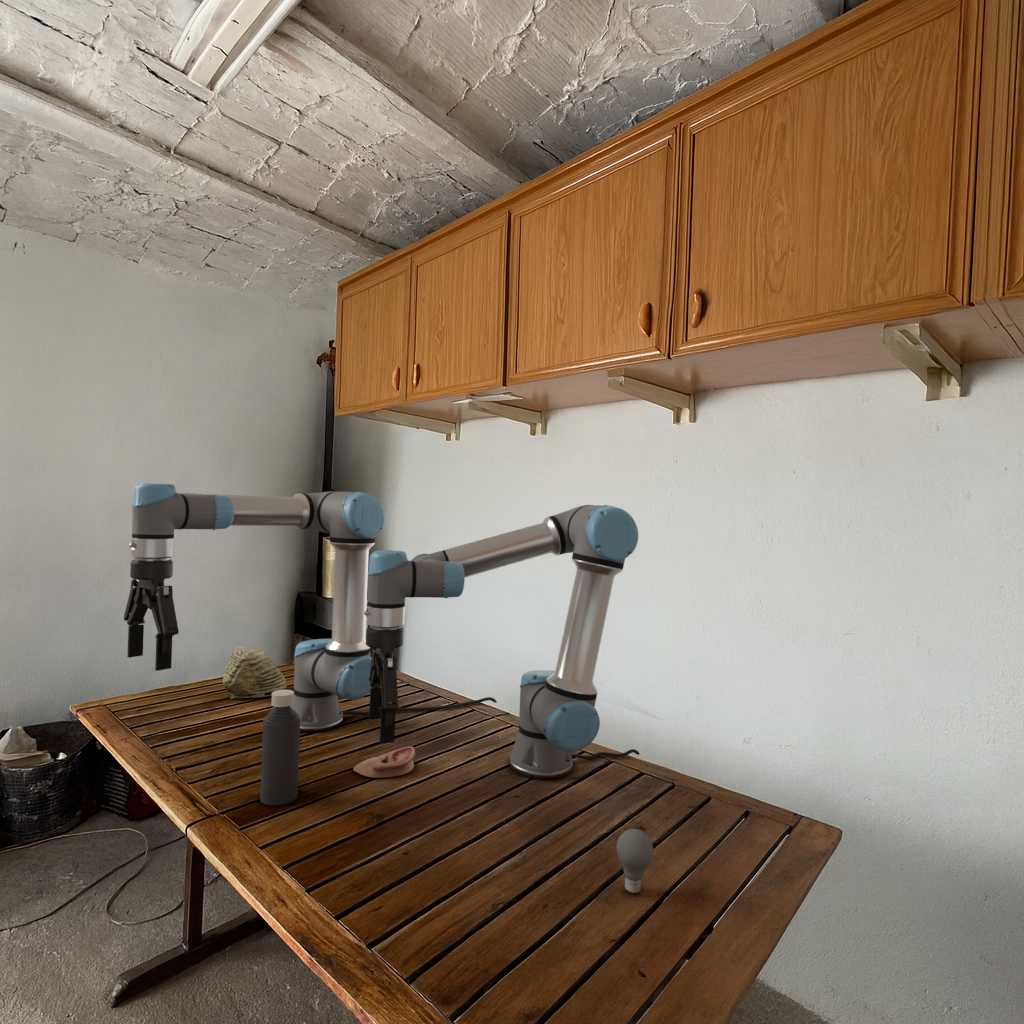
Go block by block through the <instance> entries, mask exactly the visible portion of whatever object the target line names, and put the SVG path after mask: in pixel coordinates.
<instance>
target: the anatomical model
mask: <svg viewBox="0 0 1024 1024" xmlns="http://www.w3.org/2000/svg"><path fill="white" fill-rule="evenodd" d="M415 755H416V749H415V747H413V746H406V747H405V746H404V747H401V748H398V749H394V750H391V751H389V752H386V753H383V754H381V755H378V756H375V757H370V758H367V759H364V760H363V761H361V762H359V763H358V764H356V765H355V766H354V767H353V768H352V770H353V771H354V772H356V773H357V774H359V775H361V776H364V777H368V778H371V779H379V778H380V779H382V778H391V777H399V776H403V775H405V774H408V773H410V772H411V771H413V770H414V766H415V763H414V761H413V760H414V758H415Z"/></svg>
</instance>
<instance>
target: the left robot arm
mask: <svg viewBox="0 0 1024 1024" xmlns="http://www.w3.org/2000/svg"><path fill="white" fill-rule="evenodd" d="M385 515H386V513H385V511H384V508H383V505H382V503H381V502H380V501H379V500H378V498H377V497H375V495H373V494H370V493H367V492H363V491H362V492H361V491H337V490H336V491H335V490H333V491H332V490H330V491H321V492H311V493H295V494H294V495H293V496H276V495H275V496H274V495H273V496H272V495H248V494H247V495H246V494H244V495H243V494H220V493H219V494H218V493H217V494H216V493H215V494H214V493H189V492H187V493H186V492H177V491H176V486H175V485H174V484H173V483H152V482H139V483H137V484H136V485H135V486H134V488H133V492H132V501H131V520H132V521H131V542H130V543H128V547H129V548H130V549H131V550H130V556H131V558H133V559H132V560H131V561H130V567H129V568H130V571H129V574H130V575H129V576H130V578H131V581H130V590H129V594H128V598H127V603H126V607H125V610H124V615H123V621H124V622H126V624H127V626H128V629H127V630H128V631H127V658H135V657H142V656H144V635H145V634H144V630H145V625H144V624H145V623H146V621H145V619H144V618H145V616H146V615H147V612H148V609H149V610H151V613H152V618H153V620H154V624H155V627H156V631H157V633H156V635H155V636H154V638H155V661H154V663H155V665H154V668H155V669H154V670H155V671H157V672H159V671H164V670H169V669H172V659H173V657H172V655H173V637H175V636H176V635H179V632H180V631H179V625H178V619H177V615H176V614H177V613H176V609H175V603H174V597H173V595H174V593H173V585H165V580H167V579H171V578H172V577H173V575H174V573H173V572H174V561H173V560H172V559H171V558H173V557H174V554H175V553H174V552H175V530H213V531H215V530H224V529H228V528H230V526H233V527H234V526H237V527H238V526H240V527H243V526H246V527H247V526H249V527H250V526H258V527H259V526H268V527H269V526H276V527H277V526H282V527H284V526H285V527H286V526H287V527H288V526H289V527H290V526H291V527H293V528H294V529H296V530H308V531H309V530H310V531H316V532H319V533H325V534H329V544H330V545H331V546H332V547H333V548H334V550H335V551H334V572H333V573H334V577H333V599H332V625H331V626H332V627H331V638H317V639H308V640H304V641H300V642H299V643H297V645H296V646H295V650H294V655H293V657H294V672H293V673H294V674H293V691H294V703H293V704H292V705H290V707H291V708H292V709H293V710H294V711H295V712H296V713H297V714H299V717H300V733H316V732H325V731H329V730H332V729H335V728H337V727H339V726H340V725H342V723H343V722H344V715H352V716H353V715H354V716H367V717H369V711H358V710H343V709H342V706H341V702H340V699H339V698H341V699H342V700H343V699H344V700H348V701H349V700H350V701H357V700H360V699H362V698H364V697H365V696H367V695H368V694H370V688H372V687H370V682H369V675H370V668H371V660H372V656H371V652H372V648H370V647H368V646H367V645H366V629H367V615H364V611H367V607H368V605H367V604H368V572H369V557H370V553H369V552H370V550H371V548H372V547H374V545H375V544H376V536H378V535H379V534H380V533H381V530H383V528H384V526H385V522H386V521H385V520H386V516H385ZM473 701H474V702H473ZM486 701H491V702H493V703H495V704H496V703H498V701H497V700H496V698H494V697H490V696H489V697H487V696H486V697H483V698H480V699H474V700H470V701H465V702H461V703H460V702H459V703H455V704H448V705H437V706H423V707H398V709H397V710H396V711H395V713H399V712H422V711H424V712H425V711H437V710H439V711H440V710H448V709H455V708H461V707H465V706H470V705H474V704H475V705H476V704H480V703H483V702H486Z"/></svg>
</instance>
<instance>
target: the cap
mask: <svg viewBox="0 0 1024 1024" xmlns="http://www.w3.org/2000/svg"><path fill="white" fill-rule="evenodd" d="M270 701H271V706H272V707H286V706H290V705H292V704H293V703H294V690H292V689H286V690H277V691H274V692H272V696H271V700H270Z"/></svg>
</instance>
